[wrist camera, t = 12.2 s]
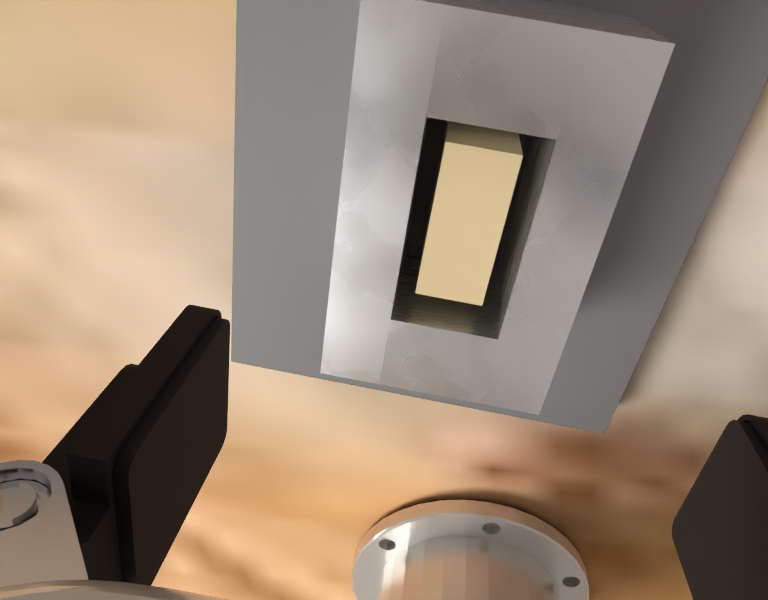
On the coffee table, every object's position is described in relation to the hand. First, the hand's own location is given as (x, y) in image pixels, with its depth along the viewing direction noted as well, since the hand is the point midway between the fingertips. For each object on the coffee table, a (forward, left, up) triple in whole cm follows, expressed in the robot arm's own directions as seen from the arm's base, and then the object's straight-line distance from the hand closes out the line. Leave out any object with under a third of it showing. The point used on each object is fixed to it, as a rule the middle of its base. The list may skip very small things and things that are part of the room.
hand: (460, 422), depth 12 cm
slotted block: (+1, 0, -11) cm, 11 cm away
